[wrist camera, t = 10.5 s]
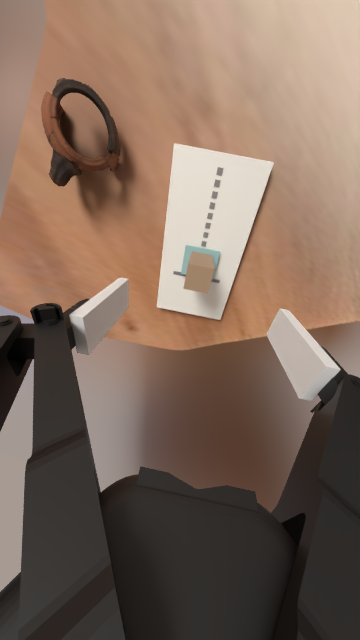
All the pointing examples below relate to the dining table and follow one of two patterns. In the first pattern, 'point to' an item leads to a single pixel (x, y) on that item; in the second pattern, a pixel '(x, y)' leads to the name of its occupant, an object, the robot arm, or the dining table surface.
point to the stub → (199, 268)
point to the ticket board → (208, 222)
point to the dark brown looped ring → (62, 150)
